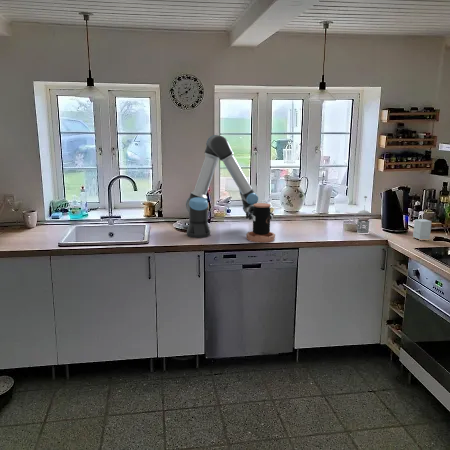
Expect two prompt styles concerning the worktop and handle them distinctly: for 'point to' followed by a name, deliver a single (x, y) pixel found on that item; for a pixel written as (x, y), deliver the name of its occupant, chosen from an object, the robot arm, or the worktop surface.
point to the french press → (359, 222)
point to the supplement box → (422, 229)
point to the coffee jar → (261, 218)
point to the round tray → (260, 237)
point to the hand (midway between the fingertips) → (263, 218)
